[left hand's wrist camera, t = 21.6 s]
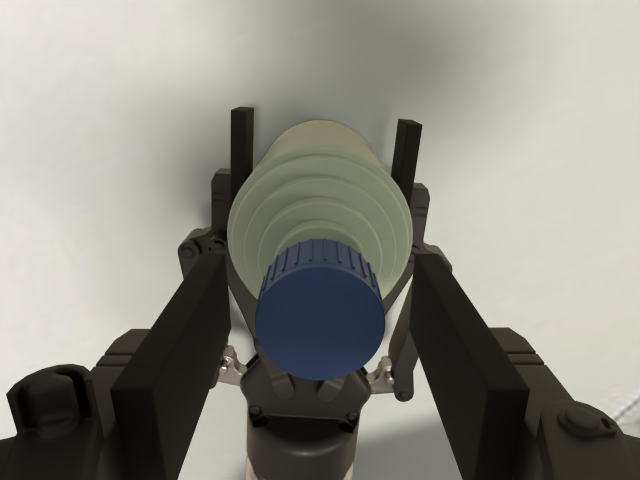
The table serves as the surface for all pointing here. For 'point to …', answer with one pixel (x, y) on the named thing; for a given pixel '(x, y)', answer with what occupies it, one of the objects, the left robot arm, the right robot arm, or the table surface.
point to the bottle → (320, 204)
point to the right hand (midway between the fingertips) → (326, 115)
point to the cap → (320, 310)
